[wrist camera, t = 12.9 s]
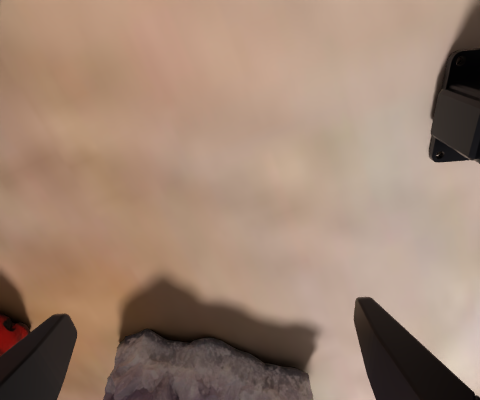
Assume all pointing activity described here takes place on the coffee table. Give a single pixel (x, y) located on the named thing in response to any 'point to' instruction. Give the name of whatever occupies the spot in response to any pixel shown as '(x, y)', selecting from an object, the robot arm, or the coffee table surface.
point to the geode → (198, 372)
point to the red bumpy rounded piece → (10, 333)
